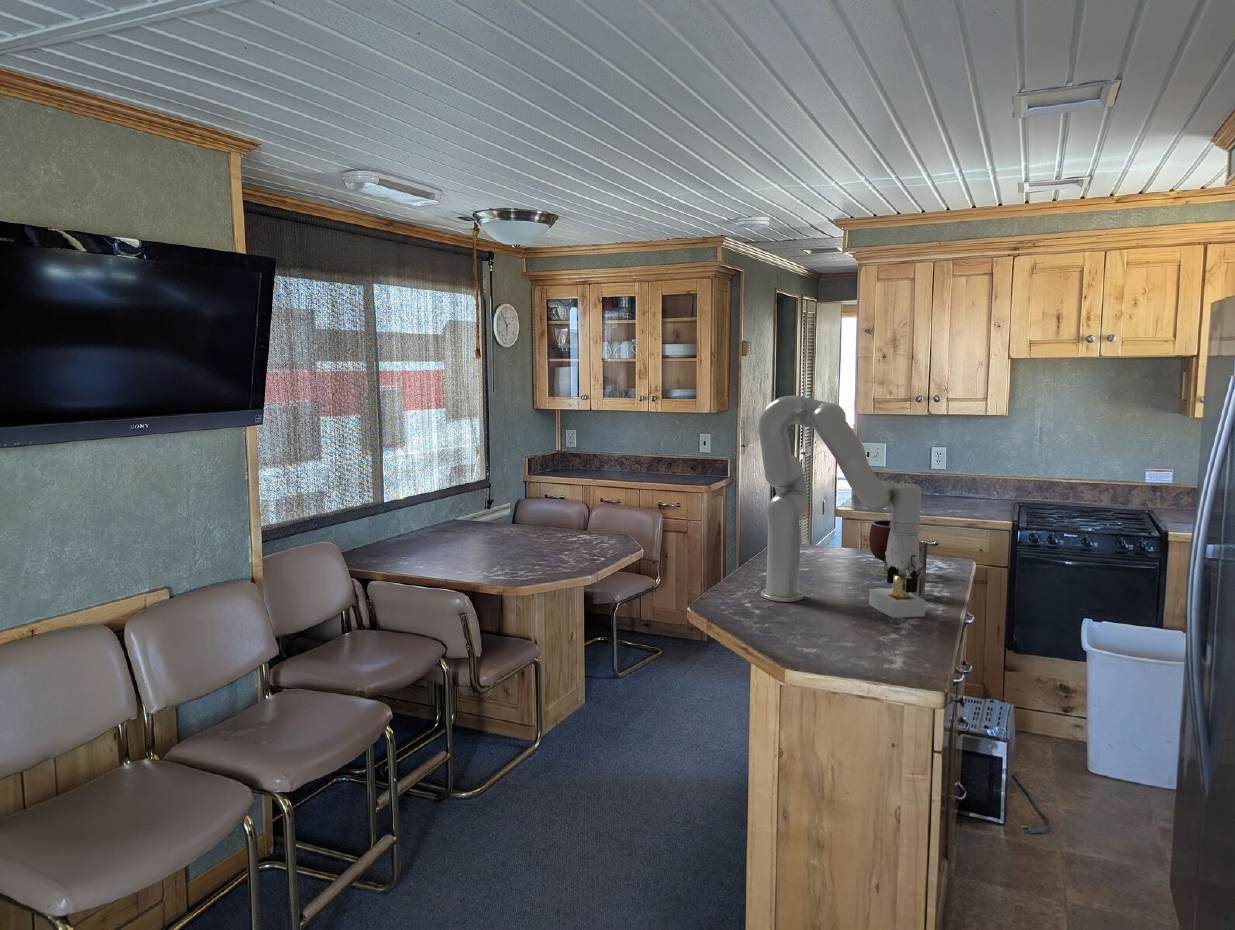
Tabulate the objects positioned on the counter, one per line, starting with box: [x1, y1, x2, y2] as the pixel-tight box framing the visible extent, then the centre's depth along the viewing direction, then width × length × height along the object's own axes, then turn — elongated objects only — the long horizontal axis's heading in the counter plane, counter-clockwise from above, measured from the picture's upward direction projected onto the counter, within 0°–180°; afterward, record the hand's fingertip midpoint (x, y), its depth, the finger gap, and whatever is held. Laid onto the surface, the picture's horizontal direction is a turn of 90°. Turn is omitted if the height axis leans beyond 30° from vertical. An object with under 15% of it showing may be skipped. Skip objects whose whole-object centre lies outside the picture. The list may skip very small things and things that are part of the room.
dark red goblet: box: [868, 519, 900, 579], centre depth 278 cm, size 16×14×20 cm
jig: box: [868, 587, 927, 619], centre depth 237 cm, size 13×10×4 cm
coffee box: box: [899, 541, 928, 598], centre depth 252 cm, size 9×6×16 cm
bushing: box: [892, 574, 909, 600], centre depth 235 cm, size 4×4×9 cm
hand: (901, 587), depth 234 cm, fingers open, 9 cm apart
